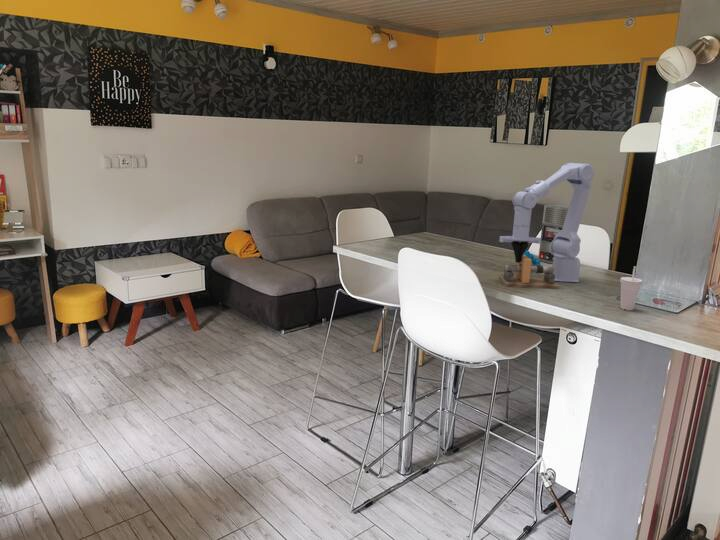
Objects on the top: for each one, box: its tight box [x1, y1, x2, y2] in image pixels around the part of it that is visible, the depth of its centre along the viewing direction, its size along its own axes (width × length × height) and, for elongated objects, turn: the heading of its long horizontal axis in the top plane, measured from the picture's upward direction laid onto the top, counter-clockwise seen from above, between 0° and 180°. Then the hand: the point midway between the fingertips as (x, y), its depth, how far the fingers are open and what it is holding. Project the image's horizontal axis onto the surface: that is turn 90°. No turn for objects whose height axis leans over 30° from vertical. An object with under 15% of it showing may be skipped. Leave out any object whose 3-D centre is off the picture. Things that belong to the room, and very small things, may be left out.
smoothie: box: [619, 265, 643, 311], centre depth 176 cm, size 6×6×14 cm
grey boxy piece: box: [536, 204, 569, 265], centre depth 241 cm, size 14×6×25 cm, turn 37°
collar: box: [515, 255, 532, 283], centre depth 204 cm, size 2×9×9 cm, turn 178°
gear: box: [523, 249, 542, 266], centre depth 235 cm, size 11×6×10 cm
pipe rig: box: [498, 264, 560, 290], centre depth 205 cm, size 19×12×7 cm, turn 88°
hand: (517, 262), depth 204 cm, fingers closed
